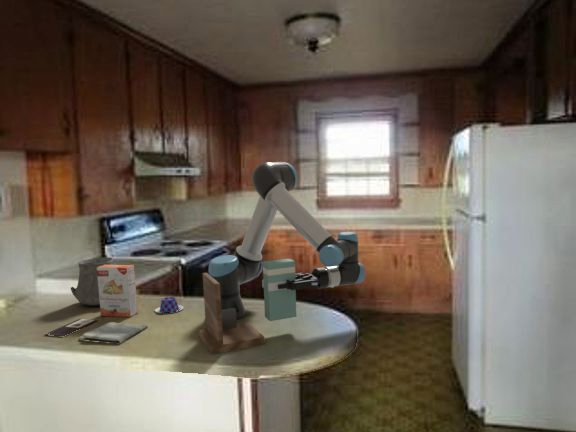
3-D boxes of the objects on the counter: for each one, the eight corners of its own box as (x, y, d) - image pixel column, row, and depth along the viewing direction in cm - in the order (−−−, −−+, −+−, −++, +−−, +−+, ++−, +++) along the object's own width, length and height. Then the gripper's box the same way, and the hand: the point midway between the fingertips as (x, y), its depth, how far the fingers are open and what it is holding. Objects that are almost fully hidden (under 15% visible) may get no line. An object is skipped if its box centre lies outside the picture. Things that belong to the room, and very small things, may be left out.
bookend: (234, 325, 168) (233, 306, 168) (236, 327, 166) (235, 308, 165) (209, 329, 165) (208, 310, 164) (211, 331, 163) (210, 312, 162)
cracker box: (100, 316, 194) (95, 267, 192) (108, 312, 200) (104, 264, 198) (130, 318, 191) (126, 267, 188) (138, 313, 196) (134, 264, 194)
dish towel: (149, 328, 178) (148, 320, 178) (120, 346, 161) (119, 337, 161) (108, 326, 184) (107, 318, 183) (75, 343, 166) (74, 334, 166)
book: (264, 317, 166) (262, 261, 164) (291, 312, 170) (289, 258, 168) (269, 321, 162) (267, 264, 160) (296, 316, 166) (294, 261, 163)
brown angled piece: (248, 327, 172) (244, 267, 170) (264, 344, 156) (261, 277, 154) (199, 336, 166) (195, 274, 163) (211, 354, 149) (207, 285, 147)
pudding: (153, 308, 203) (152, 297, 202) (181, 304, 207) (180, 293, 207) (156, 316, 192) (155, 304, 191) (186, 312, 196) (185, 299, 196)
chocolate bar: (43, 334, 174) (79, 318, 191) (44, 336, 174) (79, 321, 191) (63, 336, 171) (97, 320, 188) (63, 338, 171) (97, 322, 188)
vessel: (80, 314, 199) (76, 267, 197) (69, 303, 217) (65, 260, 215) (131, 303, 212) (128, 259, 210) (116, 294, 230) (113, 253, 227)
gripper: (337, 293, 164) (275, 302, 155) (314, 282, 180) (257, 290, 171) (336, 272, 163) (274, 280, 154) (314, 262, 179) (256, 269, 171)
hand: (265, 285), depth 163 cm, fingers closed on book, 5 cm apart
